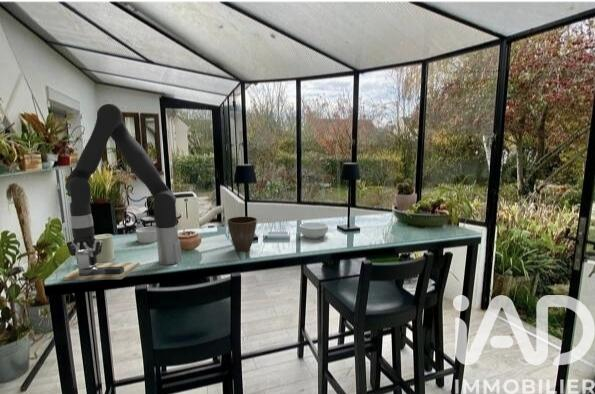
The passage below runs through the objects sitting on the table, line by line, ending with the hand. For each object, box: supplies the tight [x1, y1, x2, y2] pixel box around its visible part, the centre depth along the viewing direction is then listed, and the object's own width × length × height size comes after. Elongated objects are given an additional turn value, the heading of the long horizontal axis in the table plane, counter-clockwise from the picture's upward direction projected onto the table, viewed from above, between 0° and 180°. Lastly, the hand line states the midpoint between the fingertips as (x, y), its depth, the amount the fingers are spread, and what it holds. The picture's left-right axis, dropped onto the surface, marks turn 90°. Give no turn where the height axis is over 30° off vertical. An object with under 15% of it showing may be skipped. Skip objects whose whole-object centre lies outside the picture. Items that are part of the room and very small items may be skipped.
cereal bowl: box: [299, 221, 329, 240], centre depth 192 cm, size 17×17×7 cm
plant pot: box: [226, 216, 258, 253], centre depth 169 cm, size 15×15×16 cm
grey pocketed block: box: [76, 249, 94, 269], centre depth 136 cm, size 5×5×6 cm
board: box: [62, 262, 141, 281], centre depth 141 cm, size 24×16×1 cm, turn 90°
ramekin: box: [135, 225, 157, 244], centre depth 187 cm, size 13×13×7 cm
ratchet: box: [77, 265, 124, 276], centre depth 137 cm, size 18×6×7 cm, turn 90°
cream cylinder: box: [94, 233, 116, 263], centre depth 156 cm, size 9×9×12 cm
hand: (87, 264), depth 137 cm, fingers open, 4 cm apart
